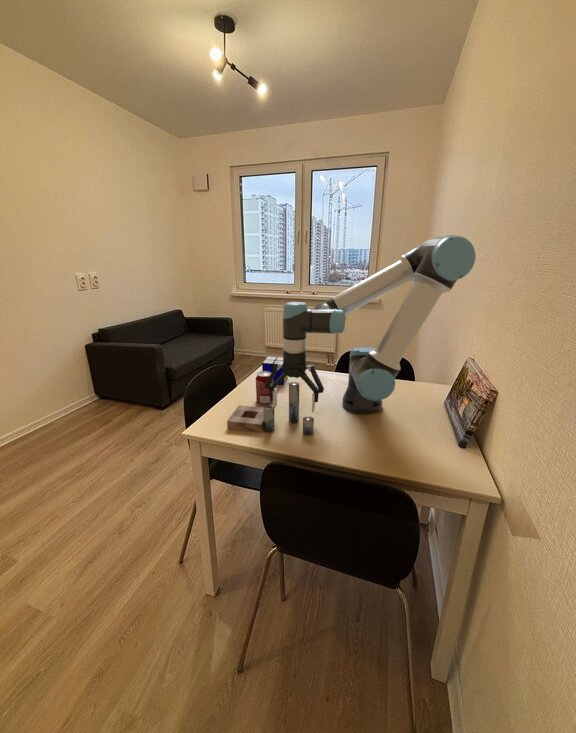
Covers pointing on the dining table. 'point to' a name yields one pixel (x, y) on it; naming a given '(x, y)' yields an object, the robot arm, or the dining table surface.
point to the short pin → (308, 425)
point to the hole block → (247, 419)
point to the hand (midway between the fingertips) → (293, 408)
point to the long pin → (293, 402)
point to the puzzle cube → (269, 365)
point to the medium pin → (269, 419)
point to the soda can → (263, 388)
